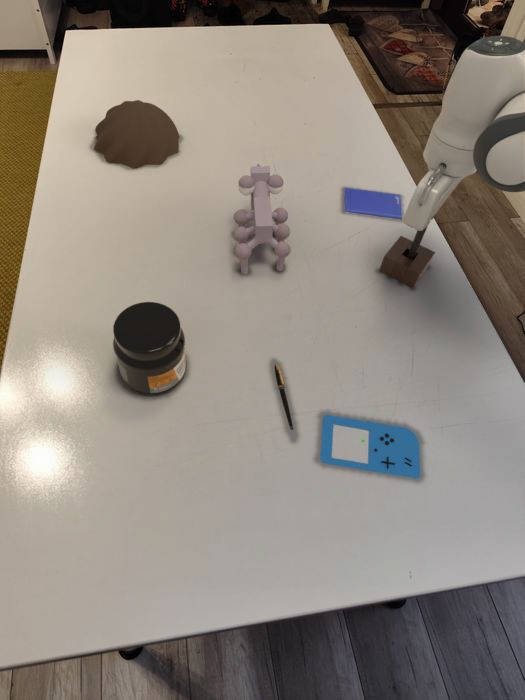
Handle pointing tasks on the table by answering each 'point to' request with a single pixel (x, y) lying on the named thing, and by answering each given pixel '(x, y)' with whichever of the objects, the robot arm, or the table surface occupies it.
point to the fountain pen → (283, 394)
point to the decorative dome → (136, 135)
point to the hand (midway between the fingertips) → (425, 220)
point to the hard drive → (373, 203)
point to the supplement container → (149, 348)
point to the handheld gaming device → (376, 447)
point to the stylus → (416, 244)
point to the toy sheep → (261, 217)
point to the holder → (406, 262)
